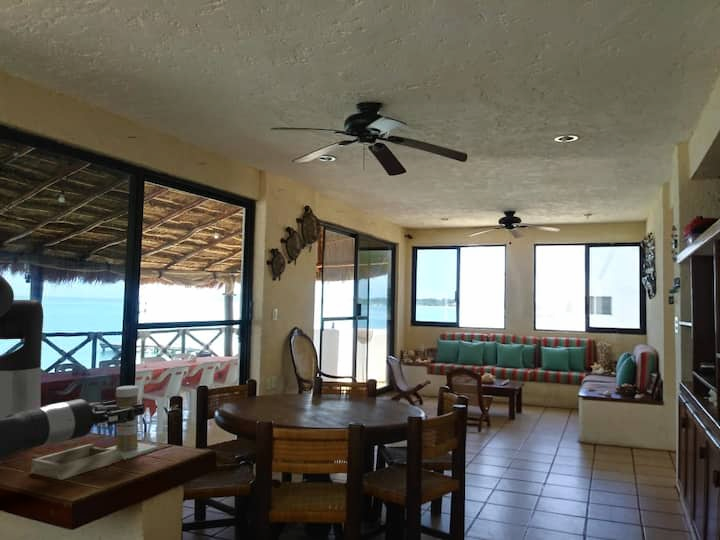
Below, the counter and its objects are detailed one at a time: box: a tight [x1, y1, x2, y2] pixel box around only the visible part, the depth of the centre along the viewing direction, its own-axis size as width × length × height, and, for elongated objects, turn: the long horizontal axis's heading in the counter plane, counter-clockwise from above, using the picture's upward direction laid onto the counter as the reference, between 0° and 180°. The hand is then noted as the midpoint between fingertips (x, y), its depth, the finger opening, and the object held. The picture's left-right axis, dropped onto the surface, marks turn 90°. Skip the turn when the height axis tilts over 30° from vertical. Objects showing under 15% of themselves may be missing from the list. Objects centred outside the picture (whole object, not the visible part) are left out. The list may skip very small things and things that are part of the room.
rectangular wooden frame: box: [30, 443, 121, 481], centre depth 114 cm, size 13×9×2 cm
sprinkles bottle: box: [115, 385, 139, 451], centre depth 124 cm, size 5×5×13 cm
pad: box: [105, 442, 159, 460], centre depth 124 cm, size 9×9×1 cm
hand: (129, 406), depth 125 cm, fingers open, 8 cm apart
